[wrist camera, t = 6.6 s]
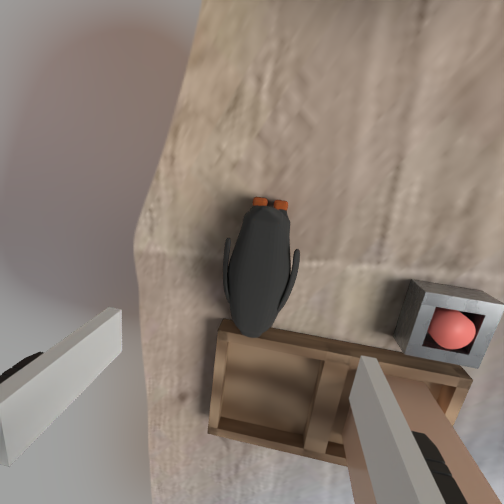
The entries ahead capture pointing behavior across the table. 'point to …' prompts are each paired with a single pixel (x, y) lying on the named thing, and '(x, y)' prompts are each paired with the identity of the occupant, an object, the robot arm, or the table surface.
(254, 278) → the figurine
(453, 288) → the button collar
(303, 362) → the wooden divided tray
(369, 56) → the table surface
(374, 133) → the table surface
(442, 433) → the tan block
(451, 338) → the stop button
